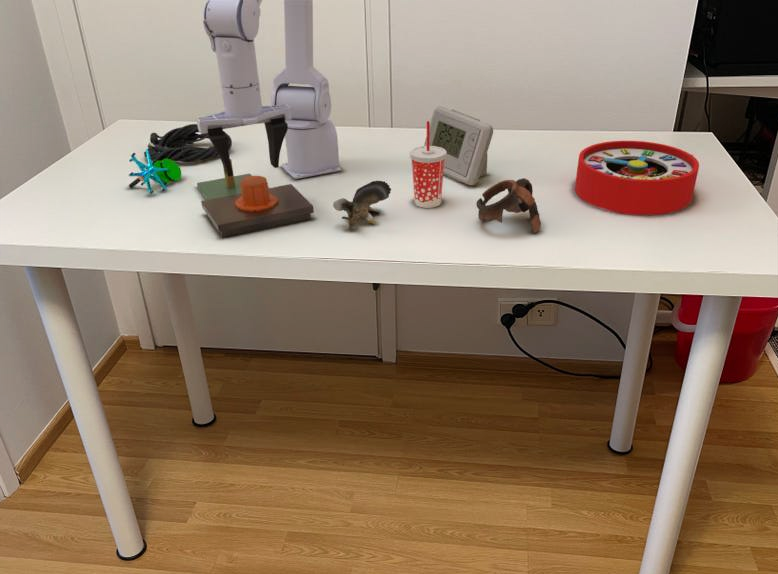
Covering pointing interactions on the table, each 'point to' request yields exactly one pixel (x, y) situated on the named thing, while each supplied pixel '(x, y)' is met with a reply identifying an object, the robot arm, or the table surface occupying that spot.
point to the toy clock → (636, 177)
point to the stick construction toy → (155, 172)
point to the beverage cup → (427, 173)
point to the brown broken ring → (509, 202)
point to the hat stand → (222, 186)
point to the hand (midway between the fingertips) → (252, 170)
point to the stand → (238, 221)
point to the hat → (255, 195)
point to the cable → (180, 139)
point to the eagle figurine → (363, 202)
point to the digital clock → (461, 144)
